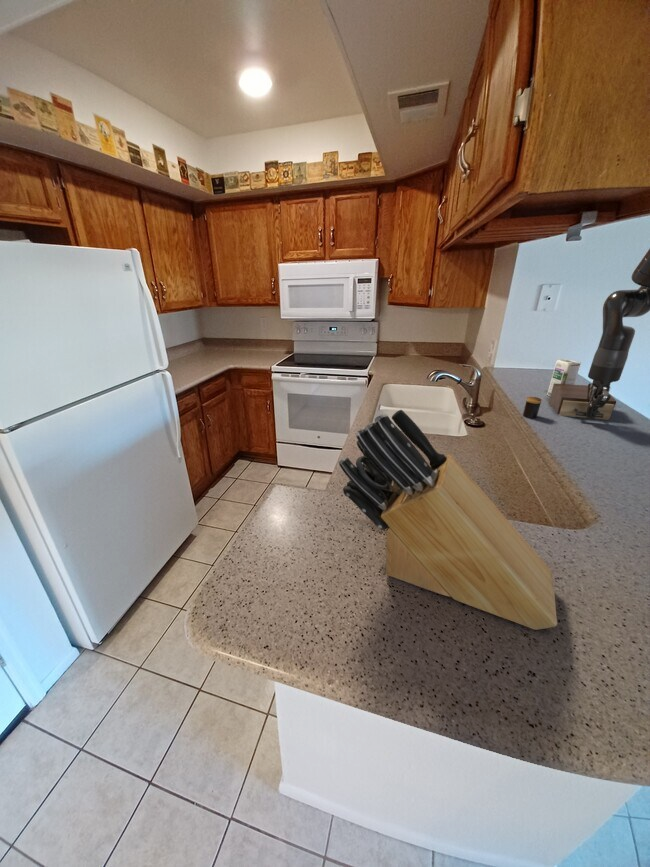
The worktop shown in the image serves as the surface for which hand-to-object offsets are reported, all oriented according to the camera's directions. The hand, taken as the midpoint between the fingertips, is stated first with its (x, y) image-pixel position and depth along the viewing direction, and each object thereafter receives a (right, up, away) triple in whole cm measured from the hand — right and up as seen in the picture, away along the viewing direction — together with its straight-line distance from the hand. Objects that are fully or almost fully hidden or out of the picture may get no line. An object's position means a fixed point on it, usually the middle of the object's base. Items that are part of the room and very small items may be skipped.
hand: (589, 417), depth 104 cm
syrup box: (+9, +9, +26) cm, 29 cm away
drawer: (+4, +2, +9) cm, 10 cm away
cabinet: (+6, +2, +13) cm, 14 cm away
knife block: (-64, -31, -43) cm, 83 cm away
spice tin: (-14, -1, +9) cm, 17 cm away
